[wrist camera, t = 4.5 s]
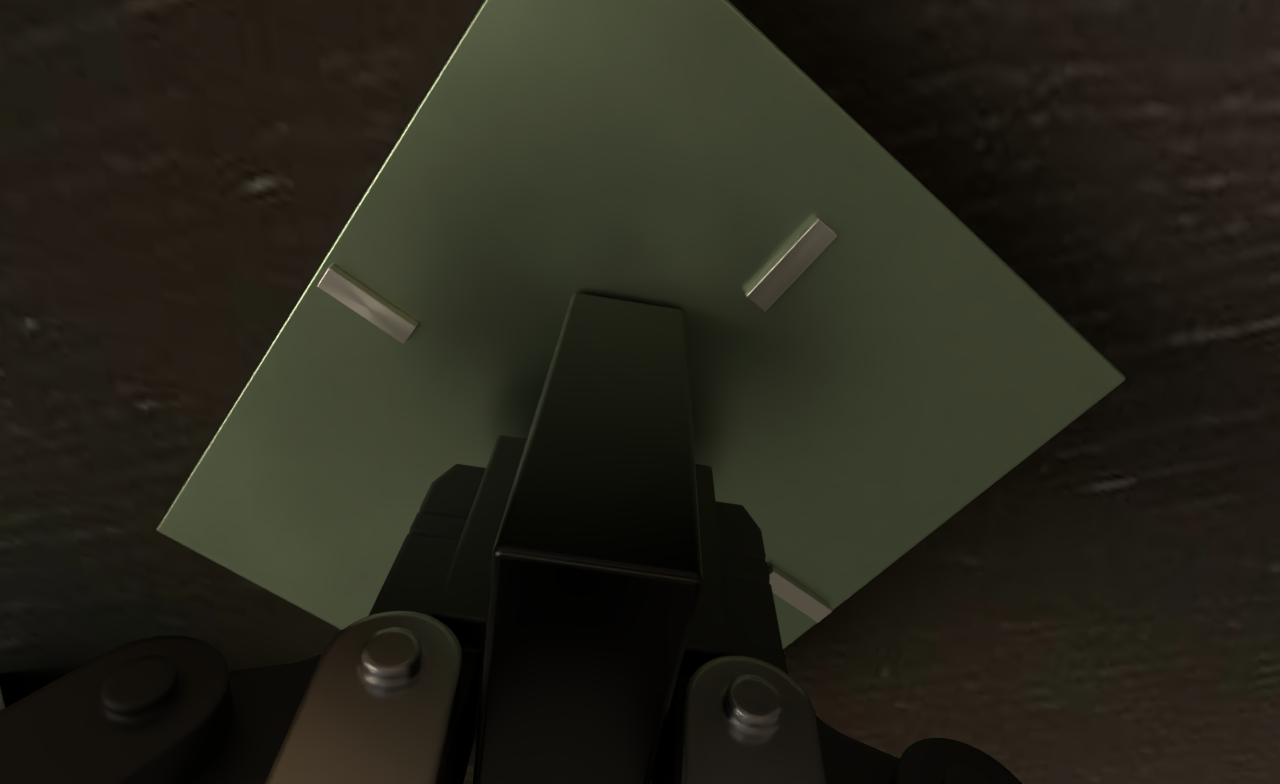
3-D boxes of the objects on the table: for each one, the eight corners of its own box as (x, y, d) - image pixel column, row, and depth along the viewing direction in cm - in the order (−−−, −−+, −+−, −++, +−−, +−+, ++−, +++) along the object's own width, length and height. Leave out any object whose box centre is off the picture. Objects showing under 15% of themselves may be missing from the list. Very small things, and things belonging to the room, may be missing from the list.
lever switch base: (596, -111, 11) (572, -150, 8) (1037, 304, 13) (1136, 384, 11) (242, 438, 15) (147, 536, 12) (625, 665, 18) (618, 788, 15)
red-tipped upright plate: (572, 290, 10) (483, 572, 5) (686, 308, 10) (707, 603, 5) (535, 587, 13) (452, 971, 8) (627, 600, 13) (604, 988, 8)
